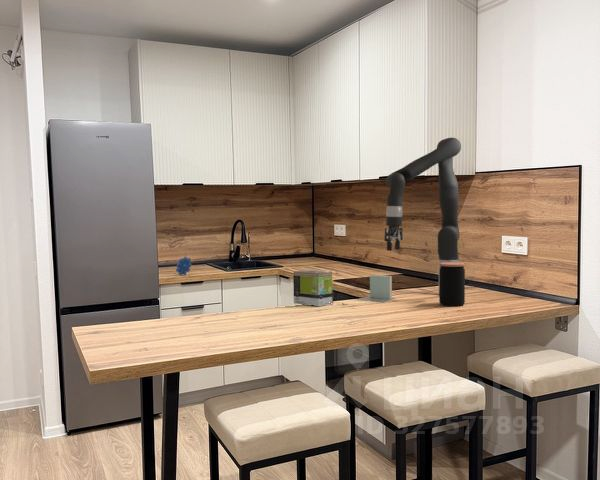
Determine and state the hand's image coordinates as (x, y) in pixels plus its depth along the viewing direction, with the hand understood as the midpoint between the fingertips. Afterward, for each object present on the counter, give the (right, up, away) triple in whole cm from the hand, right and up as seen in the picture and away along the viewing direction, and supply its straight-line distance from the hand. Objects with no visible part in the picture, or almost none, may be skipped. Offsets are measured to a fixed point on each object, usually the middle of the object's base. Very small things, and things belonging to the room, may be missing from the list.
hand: (393, 250), depth 267 cm
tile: (-7, -21, -10) cm, 25 cm away
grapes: (-121, -19, +107) cm, 163 cm away
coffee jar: (+22, -24, -22) cm, 39 cm away
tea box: (-38, -24, -17) cm, 48 cm away
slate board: (-10, -23, -14) cm, 29 cm away
